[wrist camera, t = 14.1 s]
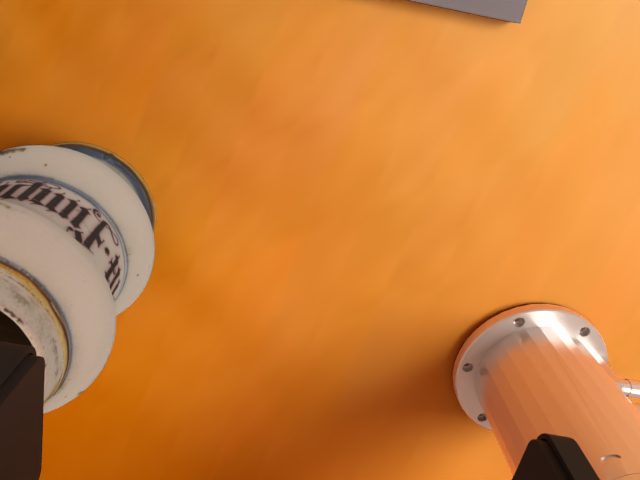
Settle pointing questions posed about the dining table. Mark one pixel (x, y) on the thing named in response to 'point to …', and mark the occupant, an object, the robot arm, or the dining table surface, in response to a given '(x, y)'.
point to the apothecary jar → (70, 256)
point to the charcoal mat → (484, 7)
